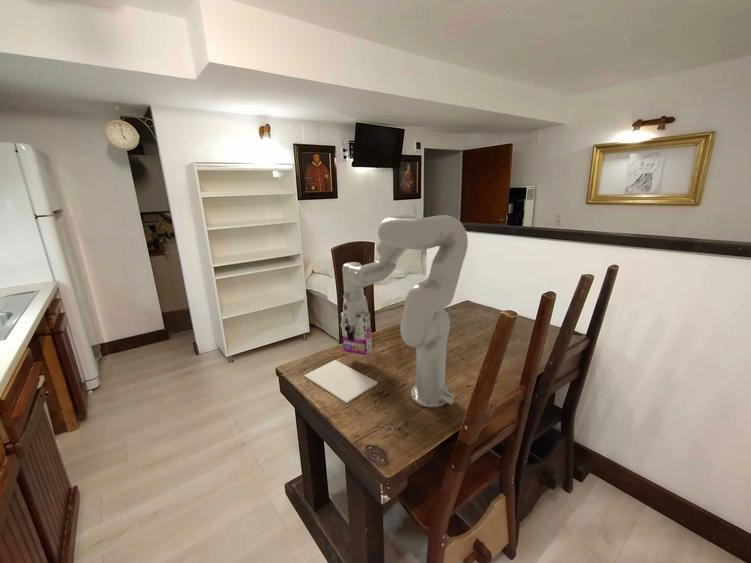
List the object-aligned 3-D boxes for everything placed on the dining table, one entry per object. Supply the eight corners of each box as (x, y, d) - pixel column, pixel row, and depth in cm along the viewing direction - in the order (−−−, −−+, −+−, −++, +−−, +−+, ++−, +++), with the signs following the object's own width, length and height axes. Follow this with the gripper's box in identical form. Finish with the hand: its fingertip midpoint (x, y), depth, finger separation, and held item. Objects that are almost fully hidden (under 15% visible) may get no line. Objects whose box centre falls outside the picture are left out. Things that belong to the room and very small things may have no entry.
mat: (377, 383, 117) (377, 382, 117) (346, 403, 107) (346, 402, 107) (335, 361, 133) (334, 359, 133) (304, 376, 123) (304, 375, 122)
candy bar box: (372, 350, 131) (370, 312, 127) (366, 356, 127) (364, 316, 123) (349, 345, 136) (346, 309, 132) (342, 351, 132) (339, 313, 128)
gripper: (343, 302, 117) (347, 347, 122) (376, 290, 129) (378, 332, 134) (330, 298, 122) (334, 342, 127) (363, 287, 134) (365, 328, 139)
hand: (356, 336), depth 130 cm, fingers closed on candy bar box, 5 cm apart
